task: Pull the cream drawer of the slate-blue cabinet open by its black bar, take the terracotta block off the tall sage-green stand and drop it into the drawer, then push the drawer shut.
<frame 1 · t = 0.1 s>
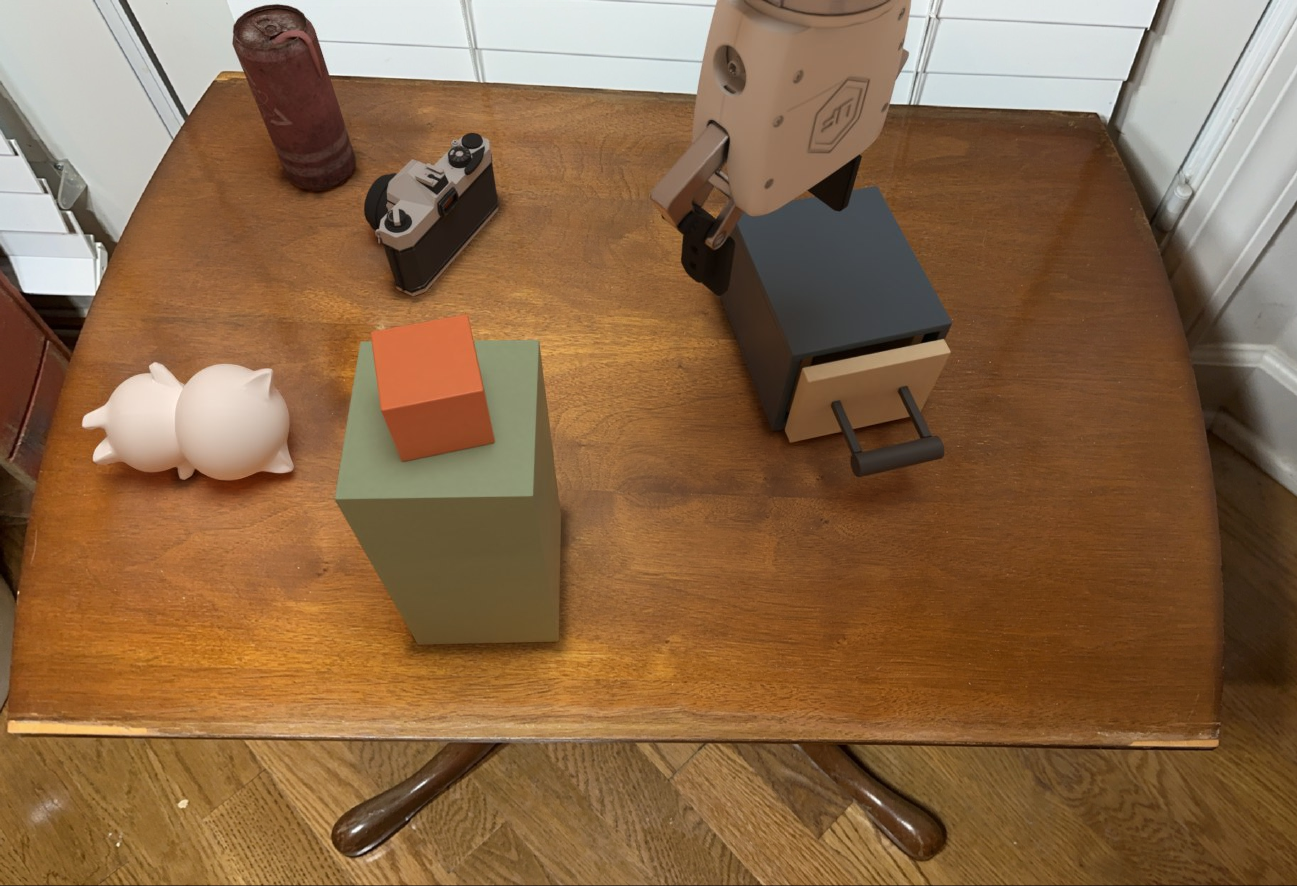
hand: (765, 236, 52), 19 cm above the table, tool pointing down, fingers open, 9 cm apart
stand: (492, 578, 61), on the table
cabinet: (813, 346, 72), on the table
block: (442, 414, 44), point 20 cm above the table, touching stand
drawer: (850, 362, 65), point 5 cm above the table, slide at 0.5 cm
can: (323, 171, 81), on the table
camera: (429, 237, 77), on the table
cat figurine: (223, 442, 66), on the table
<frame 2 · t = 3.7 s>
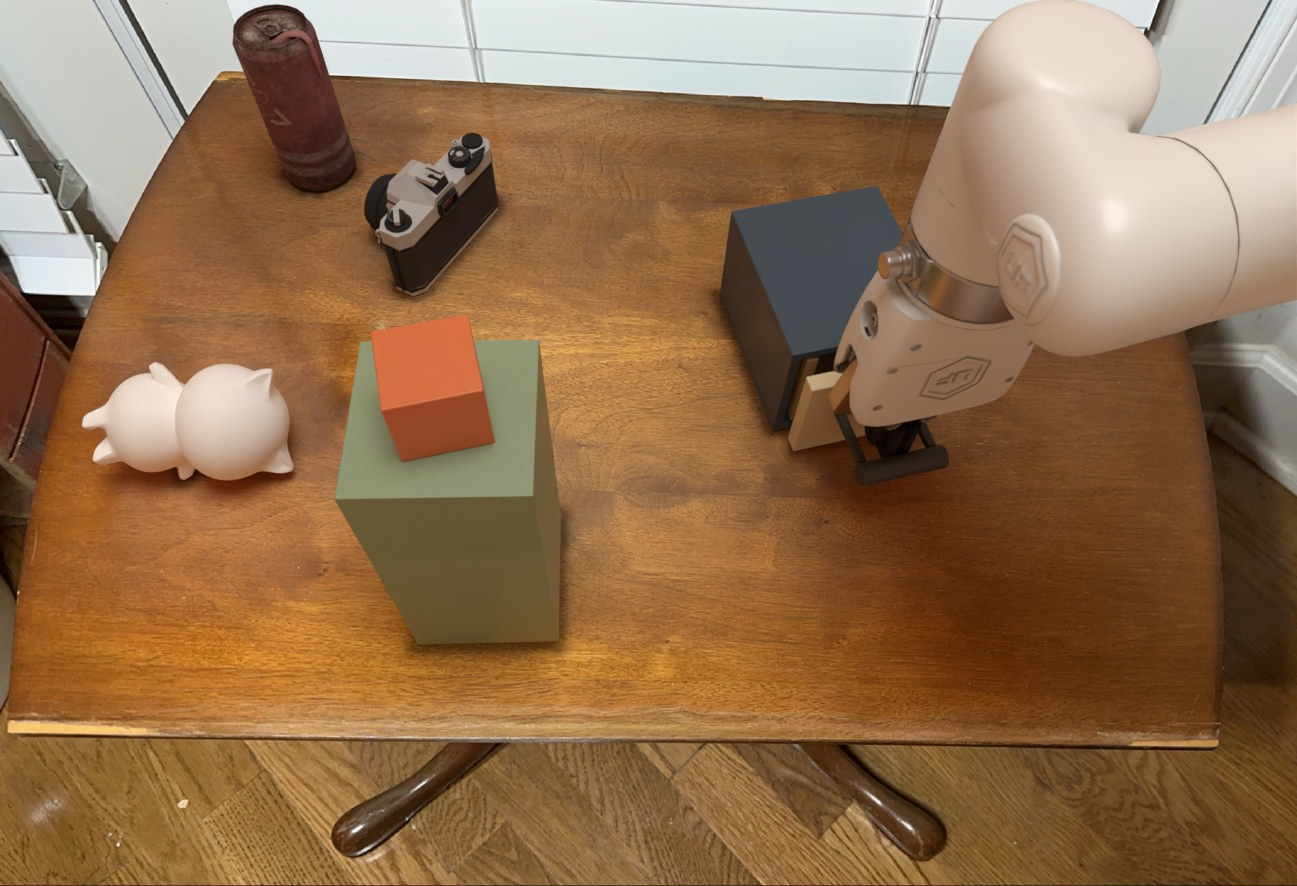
hand: (885, 440, 62), 5 cm above the table, tool pointing down, fingers closed
drawer: (853, 370, 65), point 5 cm above the table, slide at 1.2 cm, touching gripper
everything else where it was.
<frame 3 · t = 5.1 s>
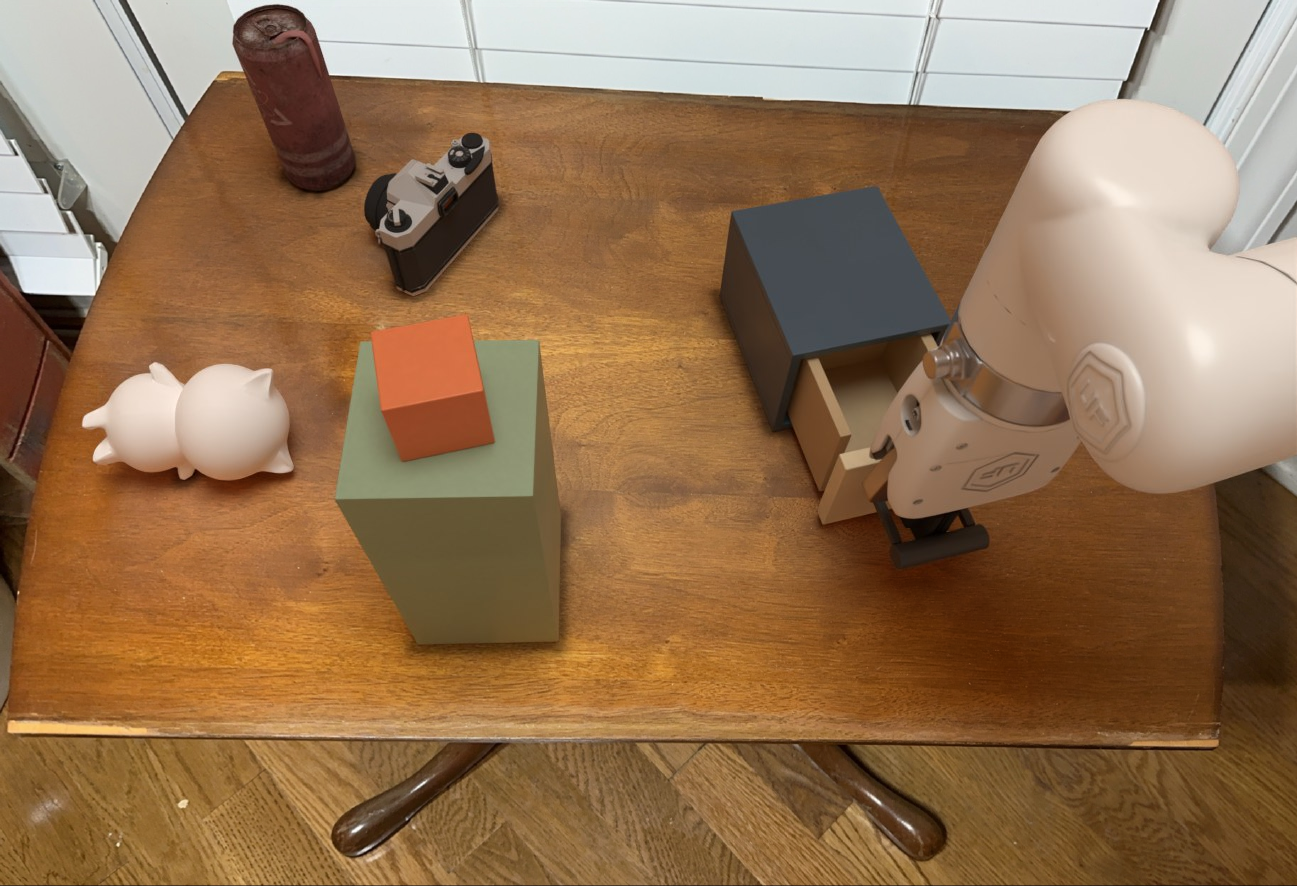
hand: (919, 521, 60), 4 cm above the table, tool pointing down, fingers closed
drawer: (886, 441, 62), point 5 cm above the table, slide at 7.3 cm, touching gripper
everything else where it was.
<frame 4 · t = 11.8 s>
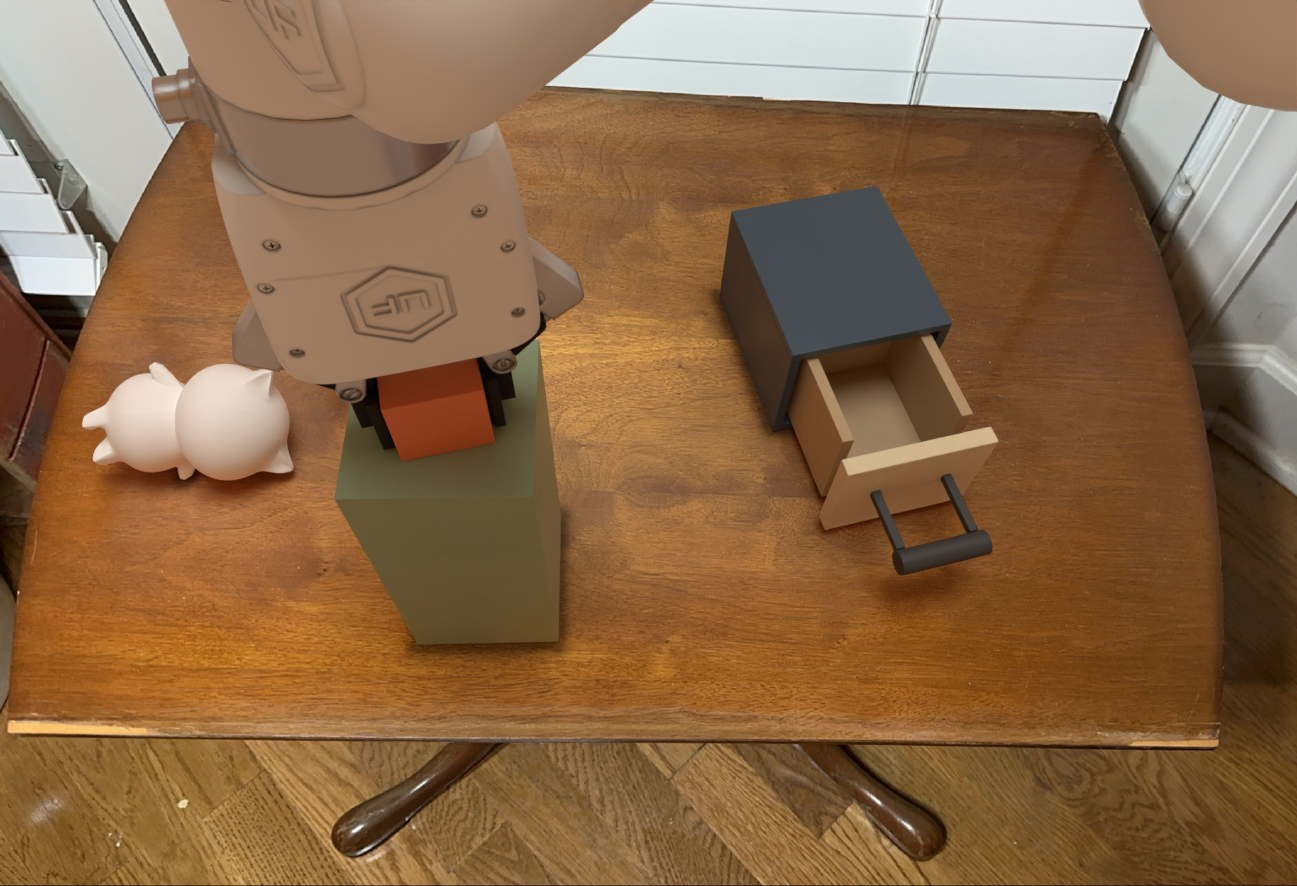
hand: (441, 410, 44), 20 cm above the table, tool pointing down, fingers closed on block, 4 cm apart
block: (442, 414, 44), point 20 cm above the table, touching gripper, stand
drawer: (889, 446, 62), point 5 cm above the table, slide at 7.7 cm
everything else where it was.
when the fingers open (9 cm above the table, at t = 20.2 s): block drops 7 cm, resting on drawer.
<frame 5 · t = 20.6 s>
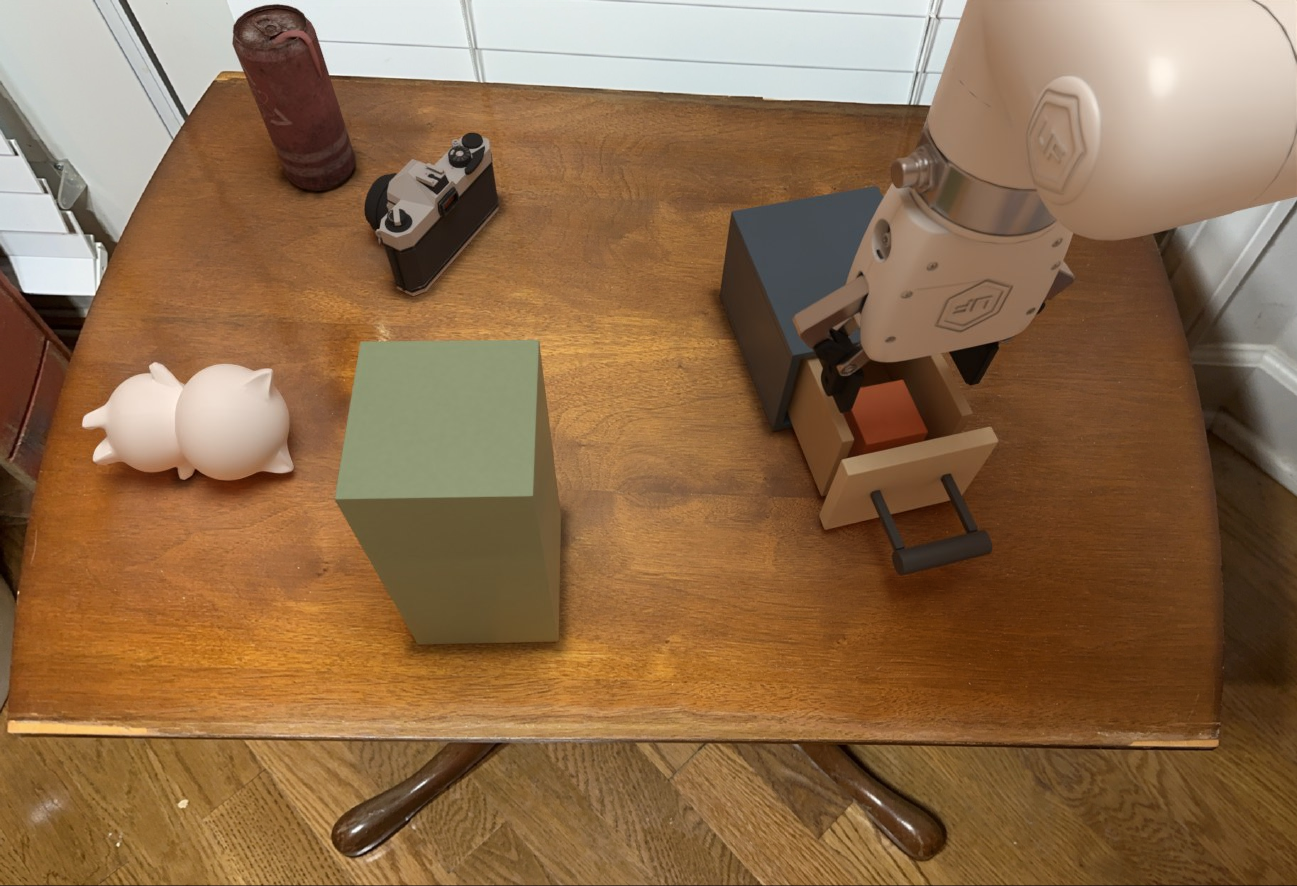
hand: (900, 379, 58), 10 cm above the table, tool pointing down, fingers open, 8 cm apart
block: (870, 445, 65), point 2 cm above the table, touching drawer
drawer: (888, 445, 62), point 5 cm above the table, slide at 7.7 cm, touching block
everything else where it was.
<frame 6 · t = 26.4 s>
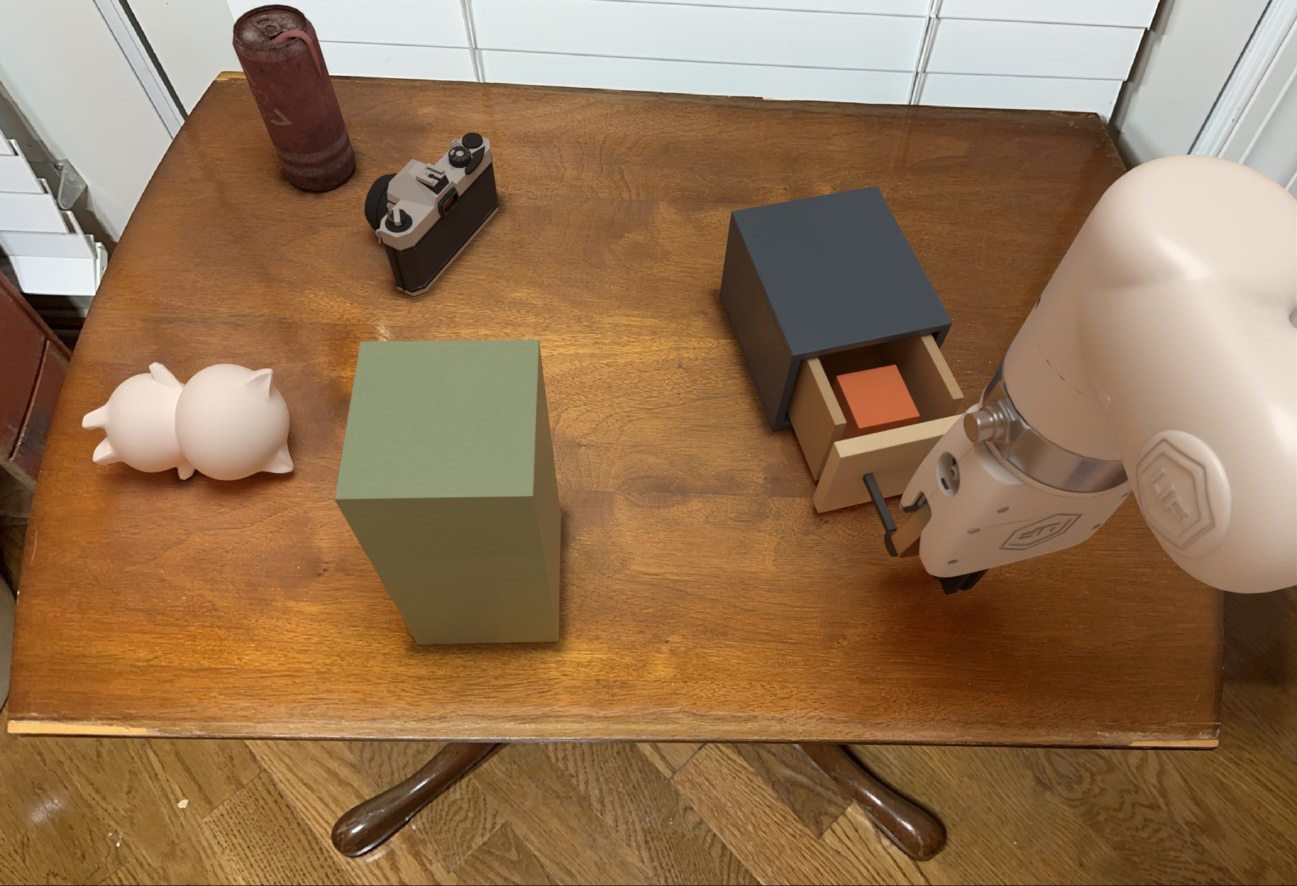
hand: (947, 570, 57), 5 cm above the table, tool pointing down, fingers closed
block: (863, 429, 66), point 2 cm above the table, touching drawer
drawer: (881, 430, 62), point 5 cm above the table, slide at 6.4 cm, touching block
everything else where it was.
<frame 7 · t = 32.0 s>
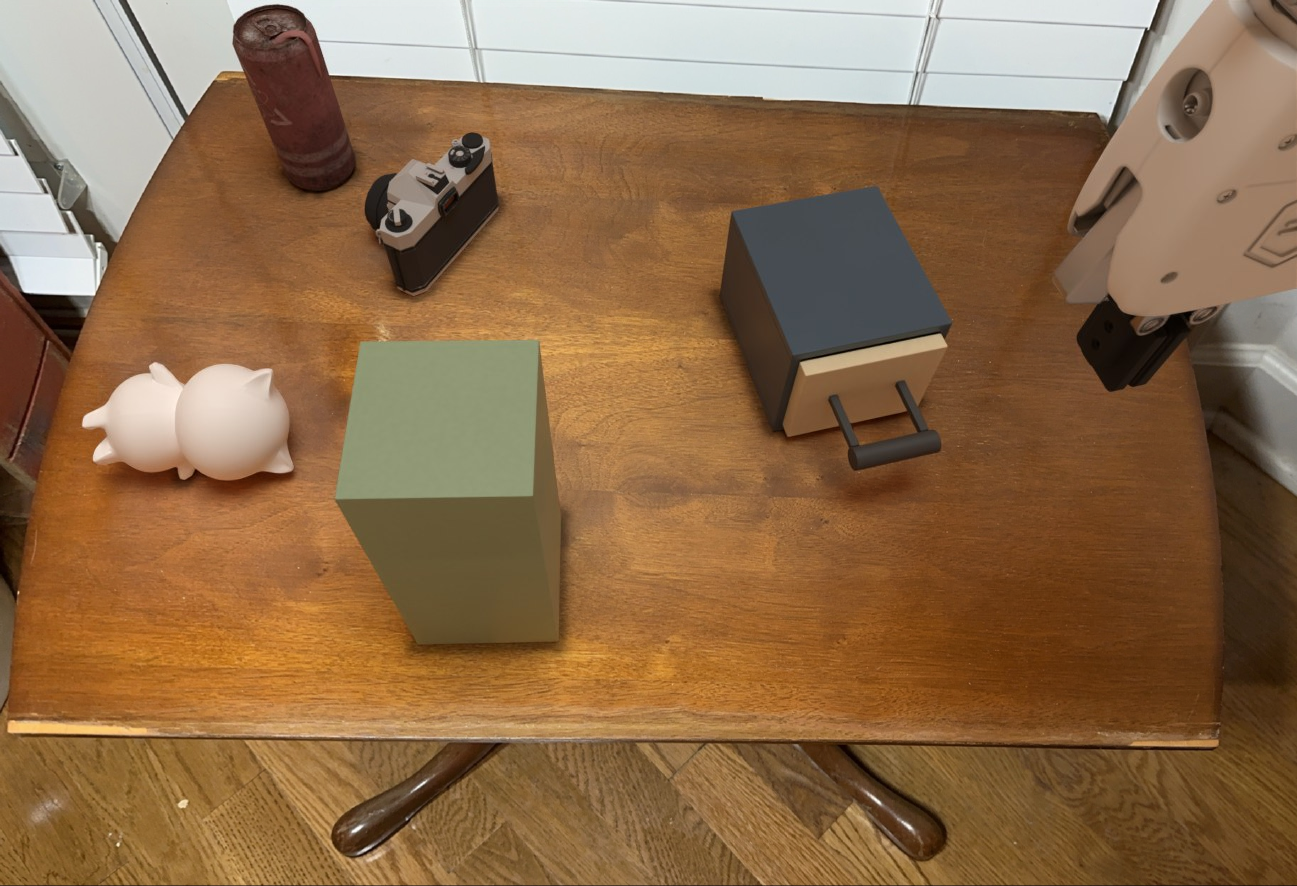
hand: (1108, 362, 40), 25 cm above the table, tool pointing down, fingers closed
block: (831, 360, 69), point 2 cm above the table, touching drawer
drawer: (847, 356, 66), point 5 cm above the table, slide at 0.0 cm, touching block, cabinet
everything else where it was.
at the end: drawer pulled out 7.7 cm at the most during the clip, back to where it started at the end; block inside the target area in the cabinet (2.3 cm from its centre), point 1.9 cm above the cabinet's base; drawer slide at 0.0 cm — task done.
